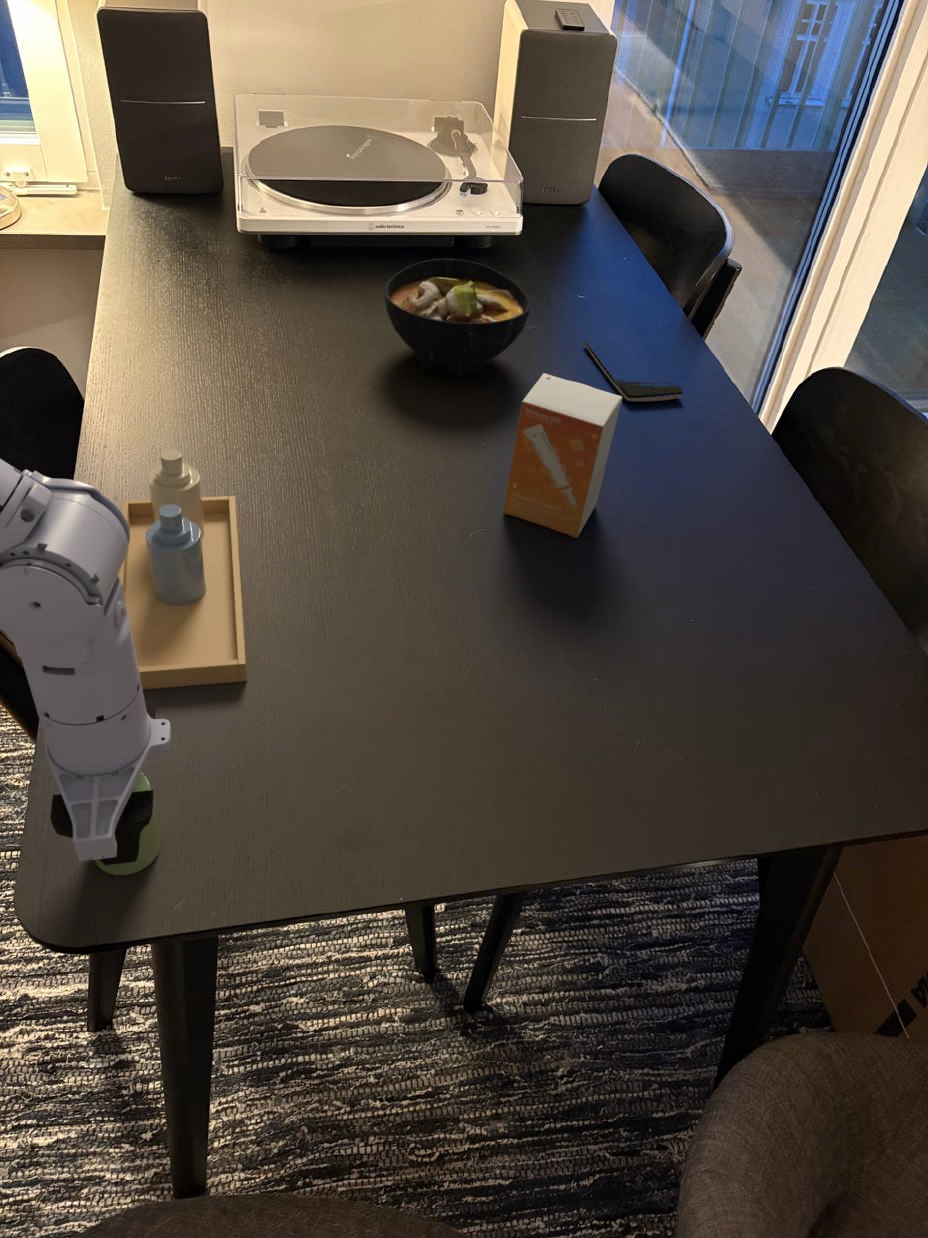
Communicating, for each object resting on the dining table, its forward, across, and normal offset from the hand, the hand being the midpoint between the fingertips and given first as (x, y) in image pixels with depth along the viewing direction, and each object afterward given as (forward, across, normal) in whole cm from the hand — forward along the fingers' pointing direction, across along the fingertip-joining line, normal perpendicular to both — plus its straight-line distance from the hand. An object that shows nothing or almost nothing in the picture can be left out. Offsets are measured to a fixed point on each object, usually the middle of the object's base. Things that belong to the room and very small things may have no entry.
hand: (122, 827), depth 64 cm
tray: (+2, +26, -4) cm, 26 cm away
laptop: (+2, +62, -58) cm, 84 cm away
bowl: (+3, +66, -36) cm, 75 cm away
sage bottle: (+2, 0, 0) cm, 2 cm away
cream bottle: (+2, +34, -4) cm, 34 cm away
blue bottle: (+2, +26, -4) cm, 26 cm away
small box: (+3, +34, -40) cm, 53 cm away
